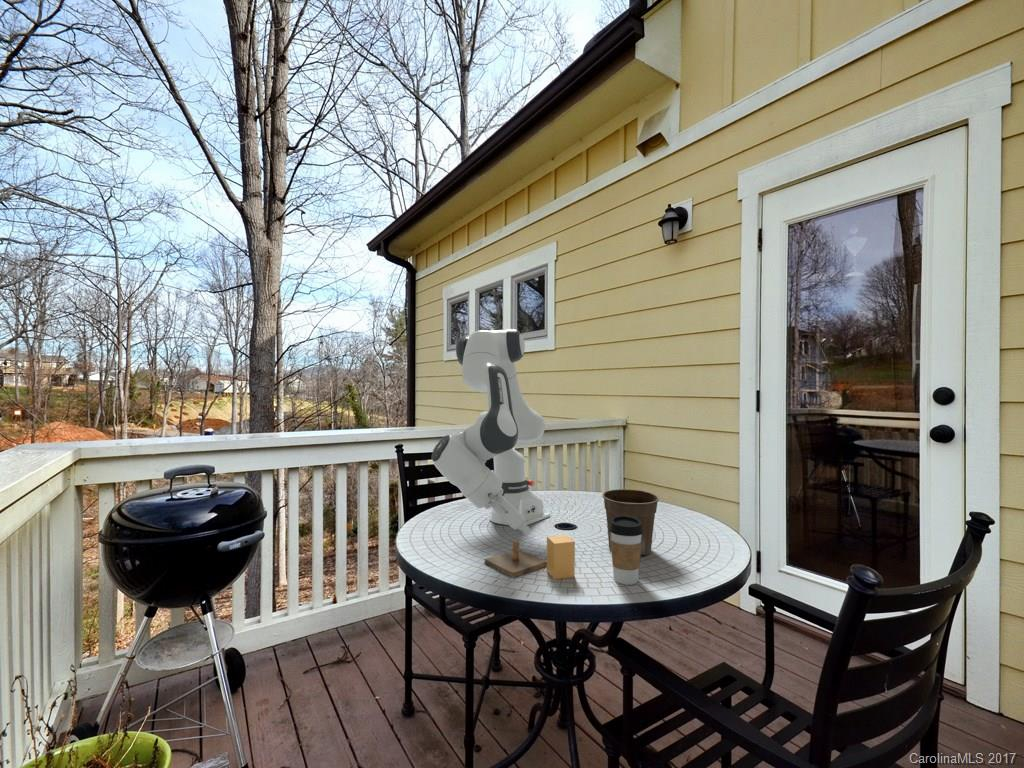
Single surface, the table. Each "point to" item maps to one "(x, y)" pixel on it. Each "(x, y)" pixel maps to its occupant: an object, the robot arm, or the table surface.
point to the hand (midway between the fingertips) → (522, 526)
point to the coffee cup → (626, 548)
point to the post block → (515, 561)
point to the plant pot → (633, 511)
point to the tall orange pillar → (560, 556)
